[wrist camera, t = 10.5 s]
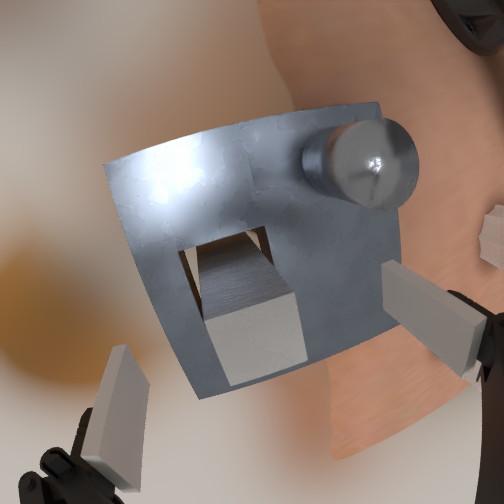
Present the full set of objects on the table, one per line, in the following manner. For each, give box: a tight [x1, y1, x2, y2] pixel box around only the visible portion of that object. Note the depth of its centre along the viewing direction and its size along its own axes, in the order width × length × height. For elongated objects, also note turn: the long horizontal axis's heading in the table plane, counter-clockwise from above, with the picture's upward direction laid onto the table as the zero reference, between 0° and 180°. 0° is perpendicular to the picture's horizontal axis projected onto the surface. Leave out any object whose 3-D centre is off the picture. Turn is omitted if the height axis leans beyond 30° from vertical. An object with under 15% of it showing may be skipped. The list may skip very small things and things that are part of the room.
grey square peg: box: [196, 231, 308, 386], centre depth 19 cm, size 4×4×12 cm
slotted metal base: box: [104, 102, 419, 400], centre depth 20 cm, size 20×20×10 cm
